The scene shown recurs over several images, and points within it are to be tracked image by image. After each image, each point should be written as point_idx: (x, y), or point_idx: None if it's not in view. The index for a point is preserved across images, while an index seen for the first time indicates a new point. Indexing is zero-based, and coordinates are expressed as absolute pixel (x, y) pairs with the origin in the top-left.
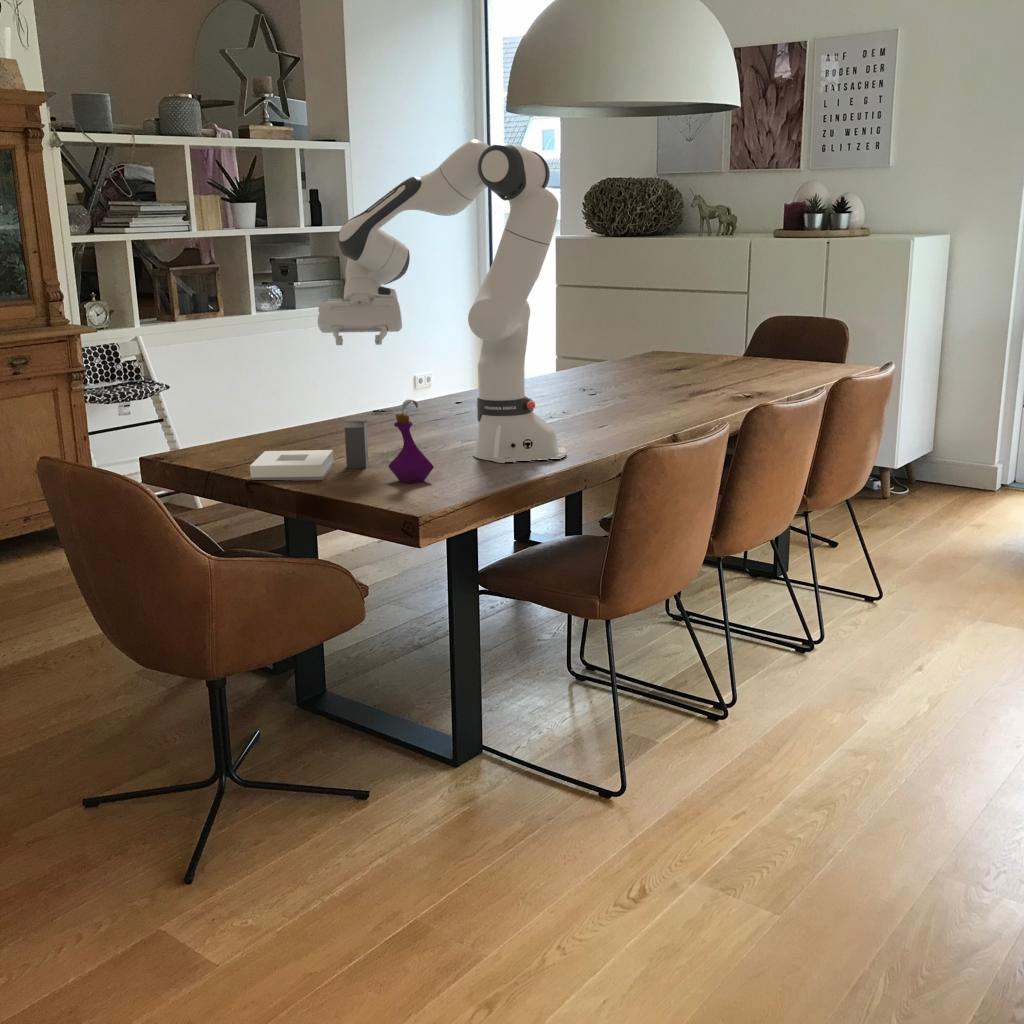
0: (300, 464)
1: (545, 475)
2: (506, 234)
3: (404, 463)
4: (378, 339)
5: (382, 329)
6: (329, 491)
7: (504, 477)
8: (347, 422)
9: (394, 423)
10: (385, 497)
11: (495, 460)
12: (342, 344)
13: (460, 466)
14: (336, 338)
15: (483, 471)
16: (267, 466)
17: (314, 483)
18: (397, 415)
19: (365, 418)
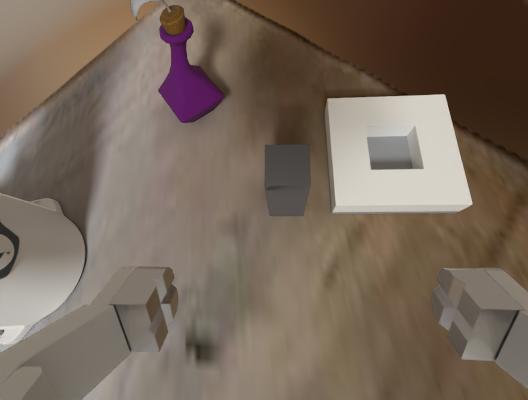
0: (362, 100)
1: (17, 128)
2: None
3: (197, 67)
4: (138, 269)
5: (28, 372)
6: (300, 60)
7: (72, 120)
8: (301, 145)
9: (191, 25)
10: (228, 37)
11: (58, 206)
12: (435, 312)
13: (120, 187)
14: (510, 284)
15: (92, 154)
16: (414, 96)
17: (331, 97)
18: (180, 6)
19: (265, 177)
